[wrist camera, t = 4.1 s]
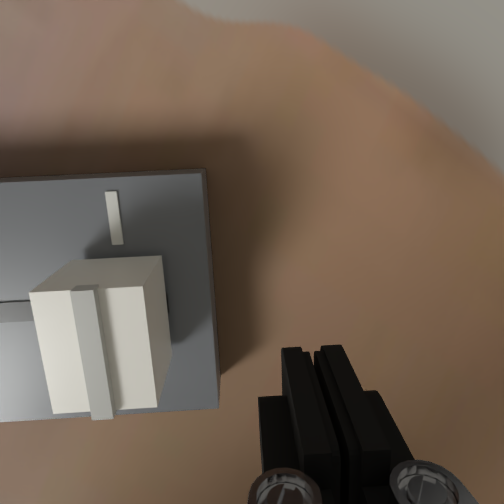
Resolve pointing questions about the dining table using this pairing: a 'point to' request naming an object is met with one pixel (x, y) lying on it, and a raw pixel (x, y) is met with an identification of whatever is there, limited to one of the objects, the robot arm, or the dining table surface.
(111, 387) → the fader knob
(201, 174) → the fader panel
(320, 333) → the dining table surface
